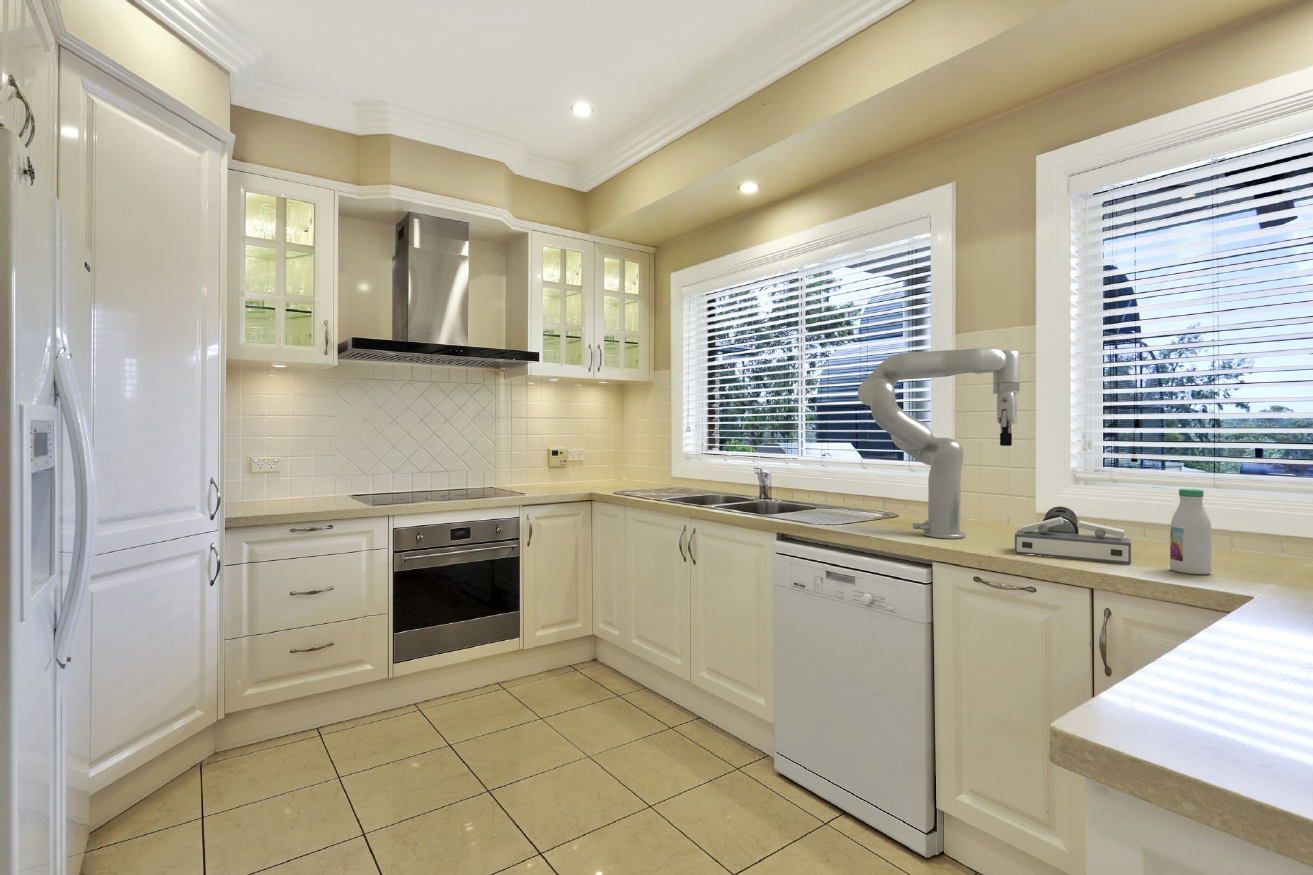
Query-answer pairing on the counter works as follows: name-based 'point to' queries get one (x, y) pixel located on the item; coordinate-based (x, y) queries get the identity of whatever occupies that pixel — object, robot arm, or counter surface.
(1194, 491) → the milk bottle
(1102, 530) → the switch
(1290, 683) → the counter surface
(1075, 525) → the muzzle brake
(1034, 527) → the switch
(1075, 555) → the switch box
